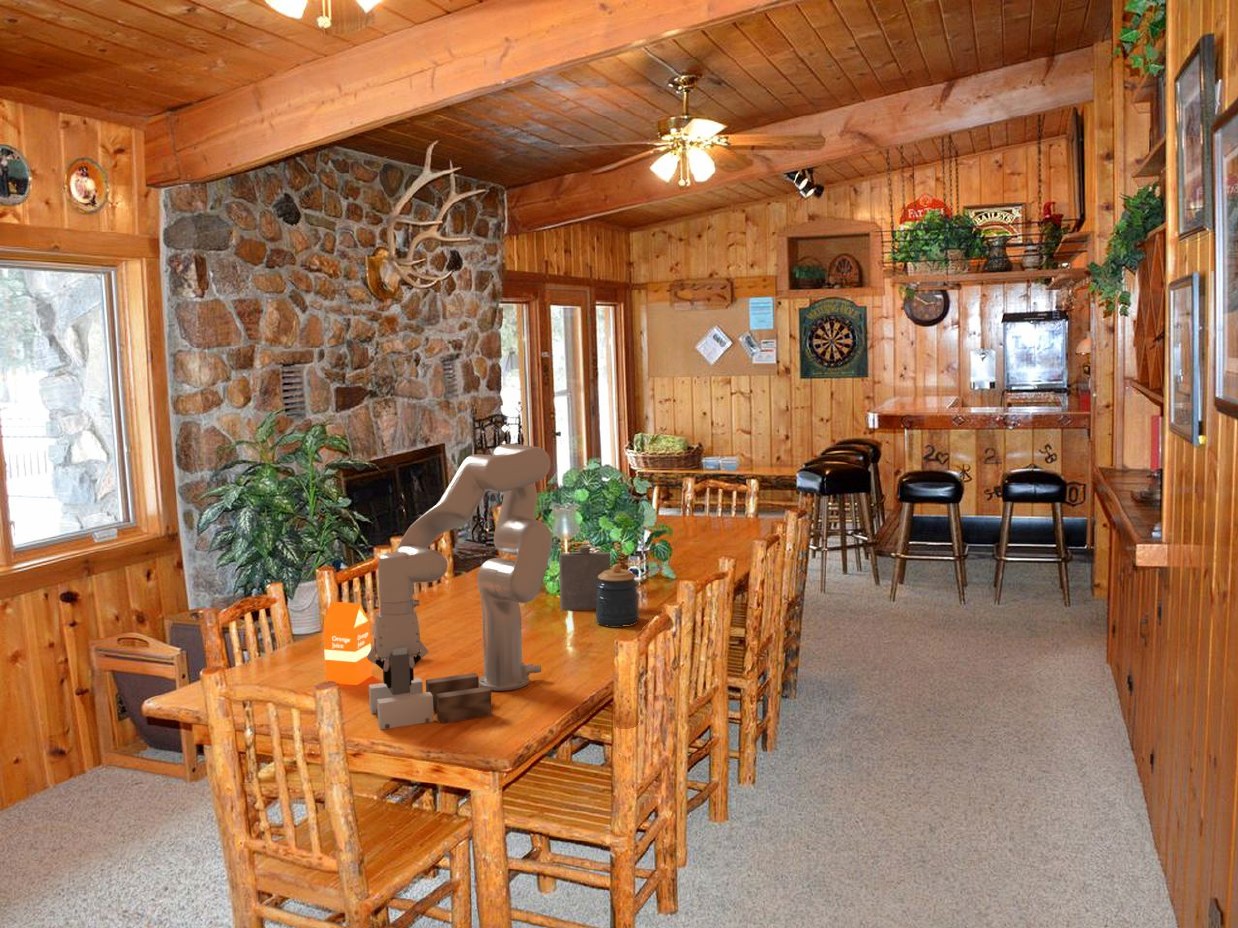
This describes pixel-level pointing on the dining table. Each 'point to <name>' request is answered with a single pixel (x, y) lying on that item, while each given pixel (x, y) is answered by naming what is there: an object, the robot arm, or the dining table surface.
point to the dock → (401, 705)
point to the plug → (399, 671)
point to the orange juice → (347, 643)
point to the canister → (617, 597)
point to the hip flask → (581, 578)
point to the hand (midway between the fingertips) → (398, 684)
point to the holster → (459, 698)
